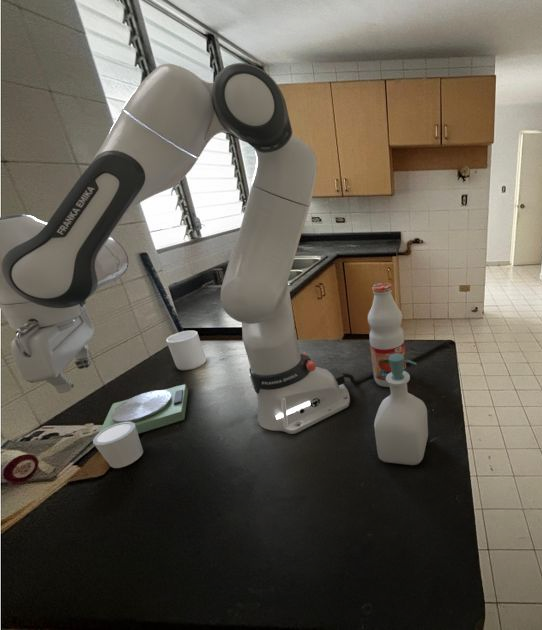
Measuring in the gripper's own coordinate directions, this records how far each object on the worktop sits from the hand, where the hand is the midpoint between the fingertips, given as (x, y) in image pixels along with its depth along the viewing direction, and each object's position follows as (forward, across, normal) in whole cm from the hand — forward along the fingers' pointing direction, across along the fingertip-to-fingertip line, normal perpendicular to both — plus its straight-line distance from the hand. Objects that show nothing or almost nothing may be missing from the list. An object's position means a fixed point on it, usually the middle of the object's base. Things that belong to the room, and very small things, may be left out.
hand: (76, 377), depth 64 cm
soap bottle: (+20, -29, -55) cm, 65 cm away
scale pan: (+17, +14, -3) cm, 23 cm away
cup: (+20, +40, -10) cm, 46 cm away
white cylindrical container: (+21, -1, -2) cm, 21 cm away
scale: (+20, +14, -4) cm, 25 cm away
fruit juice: (+19, -3, -63) cm, 66 cm away
